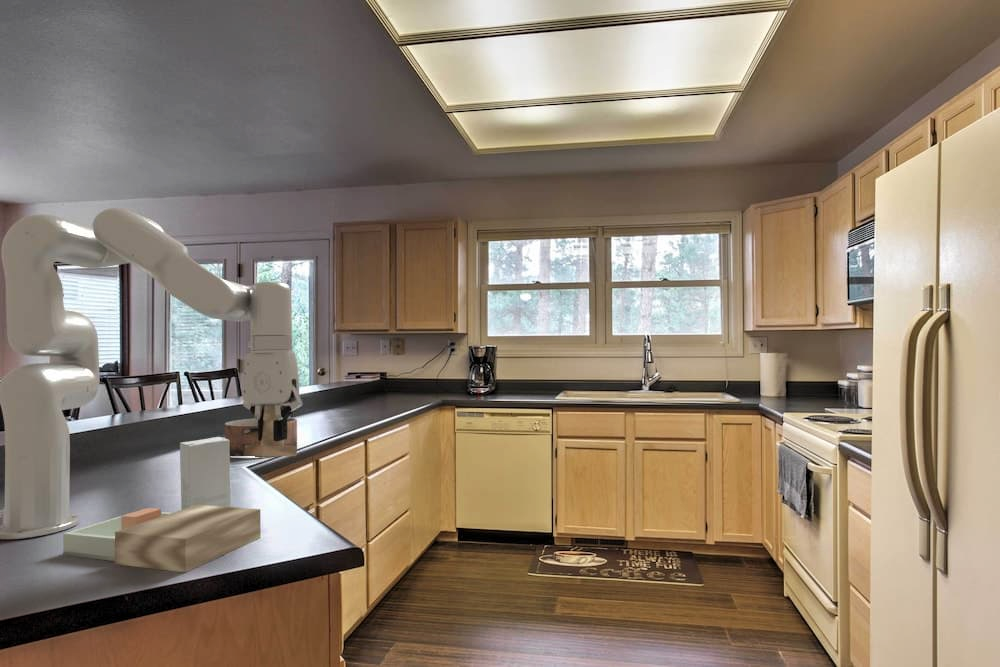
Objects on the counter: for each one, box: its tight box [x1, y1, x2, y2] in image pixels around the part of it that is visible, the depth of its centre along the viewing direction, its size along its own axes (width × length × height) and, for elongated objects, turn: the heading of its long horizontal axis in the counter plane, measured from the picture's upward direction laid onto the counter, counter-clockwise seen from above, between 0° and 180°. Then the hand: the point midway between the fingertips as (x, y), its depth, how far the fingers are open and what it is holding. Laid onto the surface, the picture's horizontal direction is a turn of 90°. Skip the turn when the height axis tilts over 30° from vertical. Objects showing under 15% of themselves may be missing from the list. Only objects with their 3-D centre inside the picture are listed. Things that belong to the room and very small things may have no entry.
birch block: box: [114, 505, 261, 573], centre depth 93 cm, size 14×16×5 cm
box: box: [62, 511, 172, 562], centre depth 96 cm, size 12×14×4 cm
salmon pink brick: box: [120, 507, 162, 530], centre depth 95 cm, size 5×5×3 cm
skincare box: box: [179, 436, 232, 510], centre depth 117 cm, size 8×6×15 cm
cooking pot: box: [224, 417, 298, 456], centre depth 186 cm, size 30×22×11 cm
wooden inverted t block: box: [244, 404, 298, 458], centre depth 108 cm, size 4×10×11 cm, turn 163°
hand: (272, 439), depth 107 cm, fingers closed on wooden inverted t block, 2 cm apart
